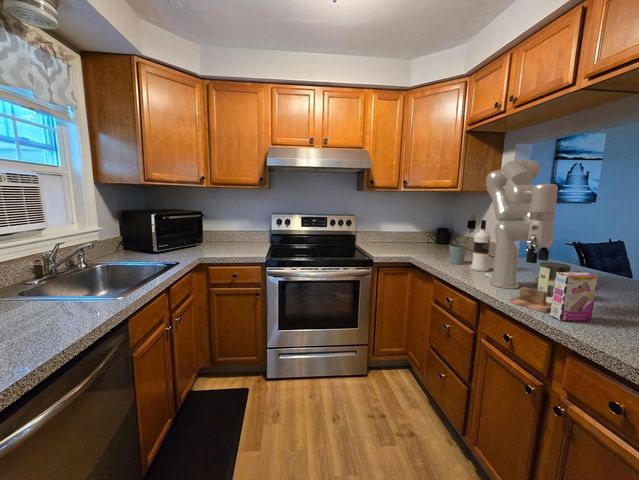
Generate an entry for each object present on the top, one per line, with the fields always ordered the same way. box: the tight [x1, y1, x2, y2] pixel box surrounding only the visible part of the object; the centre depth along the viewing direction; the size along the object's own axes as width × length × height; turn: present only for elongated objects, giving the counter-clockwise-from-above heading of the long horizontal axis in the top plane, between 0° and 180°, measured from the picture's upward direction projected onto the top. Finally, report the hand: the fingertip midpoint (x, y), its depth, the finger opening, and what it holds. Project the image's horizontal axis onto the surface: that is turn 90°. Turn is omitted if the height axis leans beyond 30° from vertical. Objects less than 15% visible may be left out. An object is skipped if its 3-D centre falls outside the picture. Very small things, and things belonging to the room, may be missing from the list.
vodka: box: [470, 219, 492, 273], centre depth 167 cm, size 9×9×30 cm
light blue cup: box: [448, 243, 467, 266], centre depth 186 cm, size 10×10×12 cm
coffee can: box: [536, 261, 572, 298], centre depth 123 cm, size 10×10×14 cm
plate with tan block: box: [510, 286, 551, 313], centre depth 111 cm, size 12×7×6 cm, turn 31°
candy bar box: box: [549, 271, 599, 322], centre depth 99 cm, size 11×5×16 cm, turn 92°
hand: (537, 261), depth 109 cm, fingers open, 9 cm apart
